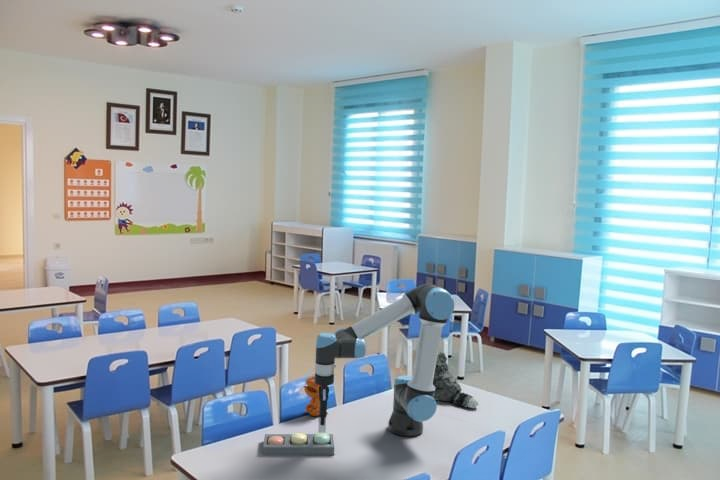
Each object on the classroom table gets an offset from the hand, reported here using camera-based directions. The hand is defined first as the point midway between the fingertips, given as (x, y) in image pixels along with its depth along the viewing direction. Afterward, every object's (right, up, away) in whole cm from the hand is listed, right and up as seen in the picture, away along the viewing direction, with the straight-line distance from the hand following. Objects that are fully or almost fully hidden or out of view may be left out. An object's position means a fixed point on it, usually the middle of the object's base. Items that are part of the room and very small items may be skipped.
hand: (321, 431), depth 231 cm
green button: (0, -5, 0) cm, 5 cm away
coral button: (-18, -5, -1) cm, 19 cm away
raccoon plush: (+61, -4, +63) cm, 88 cm away
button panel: (-9, -6, 0) cm, 11 cm away
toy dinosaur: (-6, -4, +36) cm, 36 cm away
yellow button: (-9, -4, 0) cm, 10 cm away
